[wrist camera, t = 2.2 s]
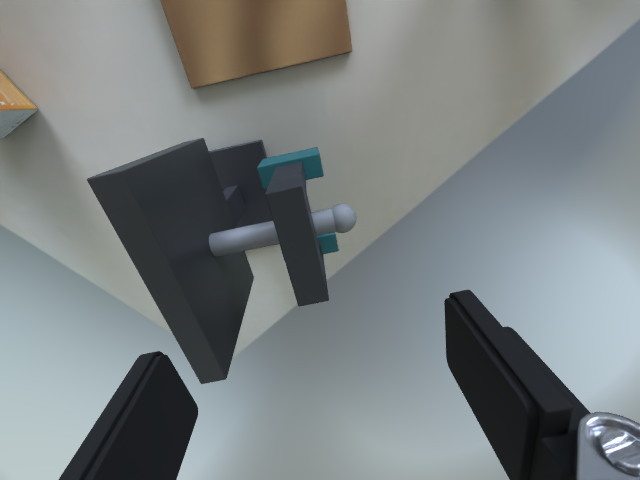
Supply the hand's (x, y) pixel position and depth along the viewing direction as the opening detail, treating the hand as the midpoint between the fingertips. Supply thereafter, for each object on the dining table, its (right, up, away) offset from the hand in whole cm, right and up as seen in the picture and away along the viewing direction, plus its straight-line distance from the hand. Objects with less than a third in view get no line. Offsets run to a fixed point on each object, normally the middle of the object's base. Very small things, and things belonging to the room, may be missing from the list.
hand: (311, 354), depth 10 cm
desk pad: (-7, +29, +20) cm, 36 cm away
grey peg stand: (-6, +11, +28) cm, 31 cm away
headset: (-2, +8, +22) cm, 23 cm away
